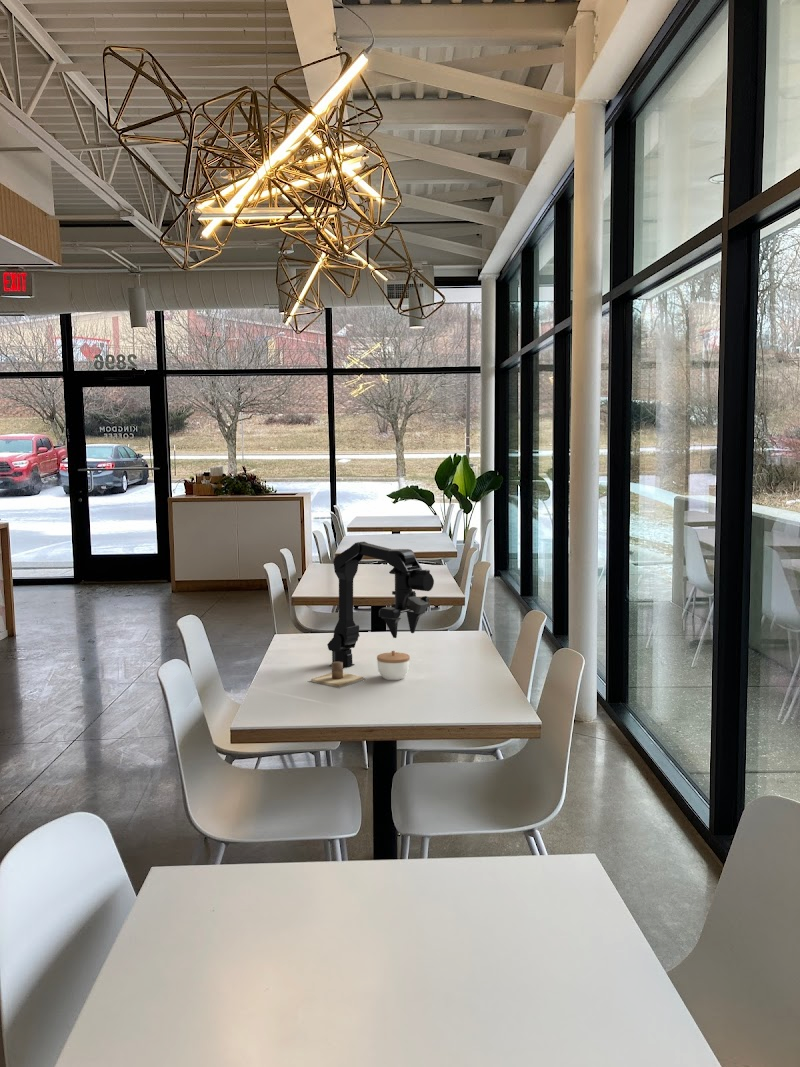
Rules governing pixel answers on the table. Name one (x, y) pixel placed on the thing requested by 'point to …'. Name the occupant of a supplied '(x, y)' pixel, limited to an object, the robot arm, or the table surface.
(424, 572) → the robot arm
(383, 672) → the lidded jar
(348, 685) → the mat
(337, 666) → the lid
